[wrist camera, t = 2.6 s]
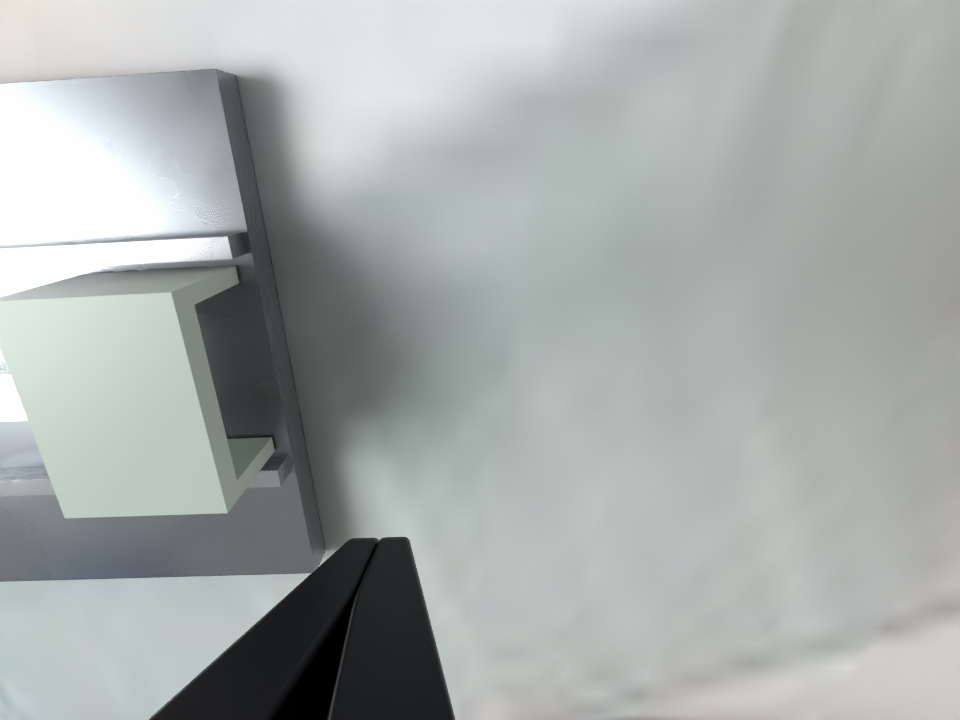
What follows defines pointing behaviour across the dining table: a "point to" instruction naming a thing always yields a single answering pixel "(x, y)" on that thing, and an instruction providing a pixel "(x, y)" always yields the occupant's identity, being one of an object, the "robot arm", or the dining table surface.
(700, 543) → the dining table surface
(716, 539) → the dining table surface
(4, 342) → the housing cover
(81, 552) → the housing base
